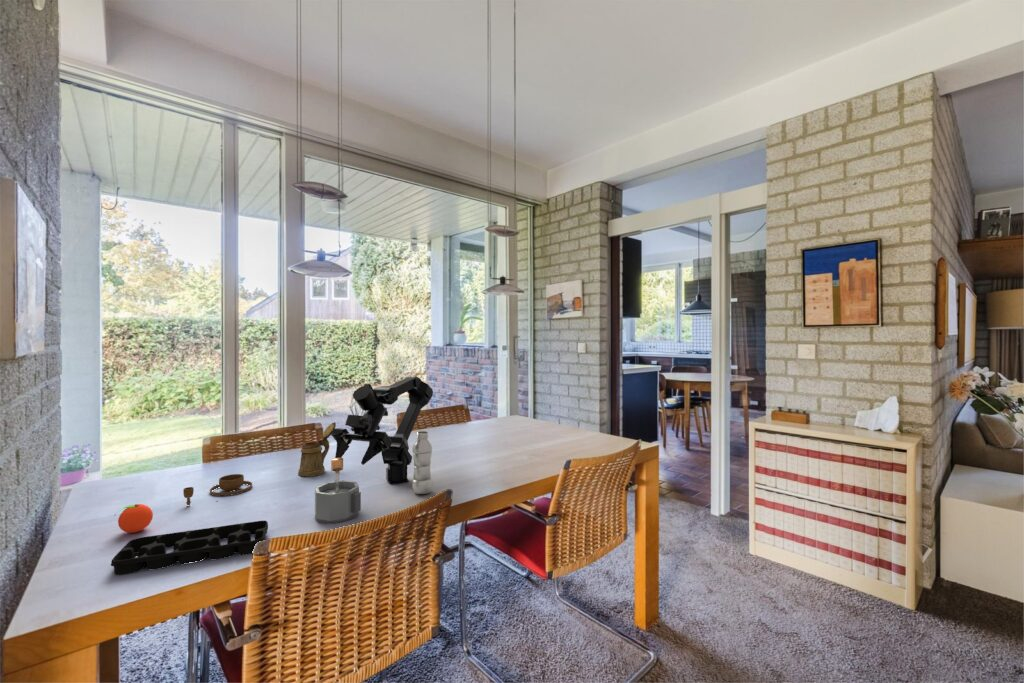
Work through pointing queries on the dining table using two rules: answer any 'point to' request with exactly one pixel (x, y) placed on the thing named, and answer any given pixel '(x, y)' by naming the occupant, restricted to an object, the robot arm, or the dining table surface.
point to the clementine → (135, 518)
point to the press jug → (337, 502)
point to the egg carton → (188, 546)
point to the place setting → (223, 486)
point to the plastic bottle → (422, 464)
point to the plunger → (337, 475)
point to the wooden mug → (315, 454)
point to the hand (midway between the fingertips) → (348, 462)
